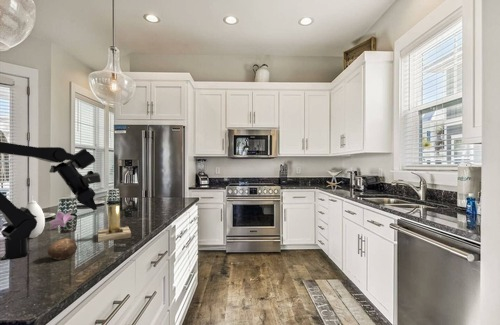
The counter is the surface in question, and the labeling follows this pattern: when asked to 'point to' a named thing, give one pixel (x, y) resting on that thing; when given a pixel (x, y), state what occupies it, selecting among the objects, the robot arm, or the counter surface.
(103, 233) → the jig
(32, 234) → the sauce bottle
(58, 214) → the lily
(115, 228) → the brass cylinder peg
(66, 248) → the potato
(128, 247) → the counter surface
